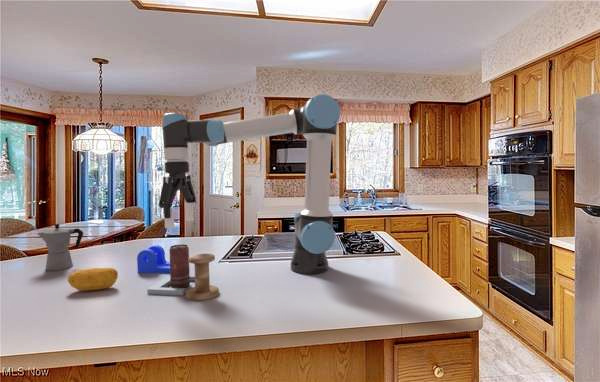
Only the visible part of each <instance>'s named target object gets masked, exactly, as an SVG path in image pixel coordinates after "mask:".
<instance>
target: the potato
mask: <svg viewBox="0 0 600 382" xmlns="http://www.w3.org/2000/svg"><path fill="white" fill-rule="evenodd" d="M118 274H119V273H118V270H117V269H115V268H113V267H93V268H86V269H85V268H83V269H78V270H75V271H74V272H72V273H70V274H69V276H67V282H68V284H69V285H70V286H71V288H74V289H76V290H77V291H102V290H105V289H109V288H111V287H113V286H114V284H116V282H117V279H118V277H119V275H118Z"/></svg>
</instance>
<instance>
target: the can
mask: <svg viewBox="0 0 600 382" xmlns="http://www.w3.org/2000/svg"><path fill="white" fill-rule="evenodd" d="M168 251H169V262H170V273H169V274H170V281H171V285H170V288H184V289H187V288H188V287H189V286H190V284H191V283H190V282H191V281H190V275H191V274H190V263H189V262H188V258H189V257H190V249H189V247H188V244H174V245H172V246H170V248H169V250H168ZM186 287H187V288H186Z"/></svg>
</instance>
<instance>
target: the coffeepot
mask: <svg viewBox="0 0 600 382" xmlns="http://www.w3.org/2000/svg"><path fill="white" fill-rule="evenodd" d="M54 227H55V228H53V229H49V230H44V231H41V232H38V233H37V234H36V235H38V236H39V237H41V239H42V240H43V241H44V242H45V245H46V249H47V251H48V253H47V256H46V264H45V269H46V271H48V272H49V271H50V272H52V271H54V272H55V271H61V270H62V271H63V270H67V269H69V268H72V267H73V266H74V263H73V259H72V257H71V253H70V250H69V247H70V244H71V243H70V242H71V235H72V234H77V239H76V241H75V245H72V246H71V247H72V249H78V248H79V247H80V244H81V241H82V239H83V236H84V232H83V230H81V229H80V228H62V227H60V223H55V224H54Z"/></svg>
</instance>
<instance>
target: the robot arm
mask: <svg viewBox="0 0 600 382" xmlns="http://www.w3.org/2000/svg"><path fill="white" fill-rule="evenodd" d="M340 116H341V108H340V105H339V103H338V101H337V100H336V99H335V98H334V97H333V96H331V95H328V94H325V93H322V94H321V93H319V94H316V95H314V96H312V97H311V98H309V99H308V100H307V101H306V103H305V105H304V106H301V107H298V108H294V109H291V110H290V111H289V112H286V113H285V112H284V113H278V114H273V115H271V114H270V115H267V116H260V117H252V118H246V119H239V120H234V121H233V120H232V121H226V122H223V120H221V119H213V118H212V119H188V118H187V114H184V113H180V112H177V113H176V112H169V113H168V112H167V113H164V114H163V116H162V127H161V129H162V139H163V151H164V152H163V155H164V161H166V162H164V171H165V174H168V176H165V175H164V176H163V178H162V187H161V193H160V197H159V202H158V206H159V209H163V219H164V229H174V228H175V218H174V217H175V215H174V207H172V206H173V203H174V201H175V197H176V194H177V192H178V191H180V193H181V195H182V197H183V198H184V201H185V202H184V214H185V215H184V216H185V222H194V221H195V218H194V203H196V202H197V200H196V199H197V197H196V193H195V190H194V187H193V183H192V177H191V174H188V173H189V172H190V162H189V161H188V160H189V159H190V157H189V146H188V145H189V144H196V143H197V144H202V143H203V144H205V145H207V146H210V147H215V146H218V145H222V144H223V145H224V144H229V143H235V142H240V141H241V142H242V141H247V140H254V139H260V138H266V137H272V136H279V135H285V134H292V133H293V134H294V135H296V136H297V135H302V136H303V137H304V139H305V140H306V153H305V154H306V158H305V159H306V160H305V180H304V181H305V183H304V184H305V185H304V207H303V209H302V210H301V211H296V212H295V213H294V218H293V221H294V251H293V254H292V257H291V261H290V270H291V271H292V272H295V273H298V274H304V275H315V274H316V275H317V274H321V273H324V272H325V273H326V272H327V271H328V270H329V261H328V258H327V255H326V254H327V253H326V252H327V251H329V250H330V249H331V248H332V246H333V245H334V243H335V240H336V233H335V231H334V230H335V229H334V228H333V220H334V219H333V215H334V214H333V213H332V212H331V211H330V209H329V207H330V188H331V187H330V186H331V161H332V143H333V142H332V141H333V140H334V139H335V138H336V137H337V130H338V129H337V125H338V122H339V121H340ZM186 173H187V174H186Z"/></svg>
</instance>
